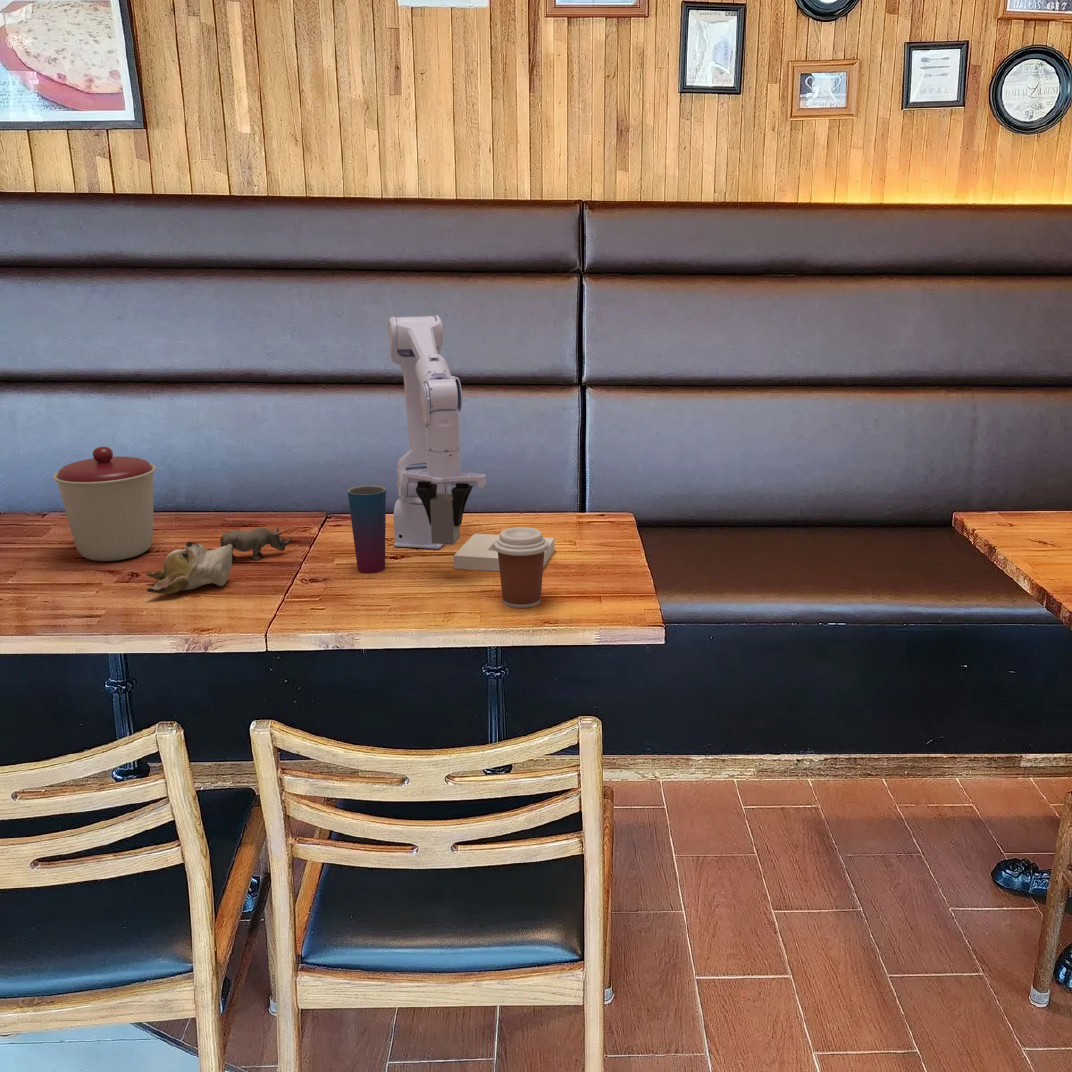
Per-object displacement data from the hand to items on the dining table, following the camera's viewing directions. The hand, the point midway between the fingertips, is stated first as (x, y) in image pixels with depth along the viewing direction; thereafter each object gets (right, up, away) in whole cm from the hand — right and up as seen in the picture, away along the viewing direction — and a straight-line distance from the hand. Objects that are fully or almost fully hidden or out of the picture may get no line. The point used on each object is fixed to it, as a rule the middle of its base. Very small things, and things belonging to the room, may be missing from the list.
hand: (445, 524), depth 178 cm
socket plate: (+10, -6, +12) cm, 17 cm away
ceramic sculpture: (-44, -11, -1) cm, 46 cm away
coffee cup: (+14, -13, -9) cm, 21 cm away
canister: (-65, -6, +17) cm, 68 cm away
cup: (-14, -8, +8) cm, 18 cm away
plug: (0, -3, +1) cm, 3 cm away
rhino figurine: (-37, -6, +14) cm, 40 cm away
